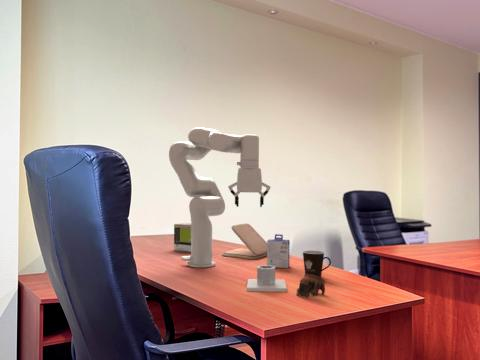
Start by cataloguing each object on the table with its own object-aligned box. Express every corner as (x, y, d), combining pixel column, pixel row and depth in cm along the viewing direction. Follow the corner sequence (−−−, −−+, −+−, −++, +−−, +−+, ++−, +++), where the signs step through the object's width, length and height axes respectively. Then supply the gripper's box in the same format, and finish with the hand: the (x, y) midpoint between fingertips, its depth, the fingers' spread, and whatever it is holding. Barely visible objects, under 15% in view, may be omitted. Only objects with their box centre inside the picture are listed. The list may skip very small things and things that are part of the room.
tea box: (206, 250, 247) (206, 223, 247) (194, 252, 238) (195, 225, 238) (184, 248, 255) (185, 222, 255) (173, 250, 246) (173, 223, 246)
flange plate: (246, 291, 158) (247, 276, 158) (247, 281, 172) (248, 268, 172) (286, 291, 158) (286, 277, 158) (284, 282, 172) (284, 269, 172)
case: (255, 260, 219) (256, 227, 219) (219, 256, 229) (220, 225, 229) (273, 254, 237) (274, 224, 237) (239, 251, 247) (239, 222, 247)
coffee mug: (298, 275, 185) (298, 251, 185) (316, 273, 188) (316, 250, 188) (314, 281, 174) (314, 255, 174) (332, 279, 177) (332, 254, 177)
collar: (257, 285, 162) (257, 268, 162) (257, 281, 168) (257, 265, 168) (275, 285, 161) (275, 269, 161) (274, 281, 168) (274, 265, 168)
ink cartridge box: (289, 266, 204) (290, 234, 204) (288, 268, 199) (289, 235, 199) (268, 265, 206) (268, 233, 206) (266, 267, 201) (267, 235, 201)
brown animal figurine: (290, 294, 156) (298, 272, 159) (313, 305, 157) (321, 283, 160) (304, 294, 145) (312, 270, 148) (329, 306, 146) (337, 282, 149)
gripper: (227, 164, 180) (227, 207, 180) (271, 164, 179) (270, 207, 179) (229, 165, 187) (228, 205, 187) (270, 165, 186) (270, 206, 186)
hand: (249, 206), depth 183 cm, fingers open, 9 cm apart
